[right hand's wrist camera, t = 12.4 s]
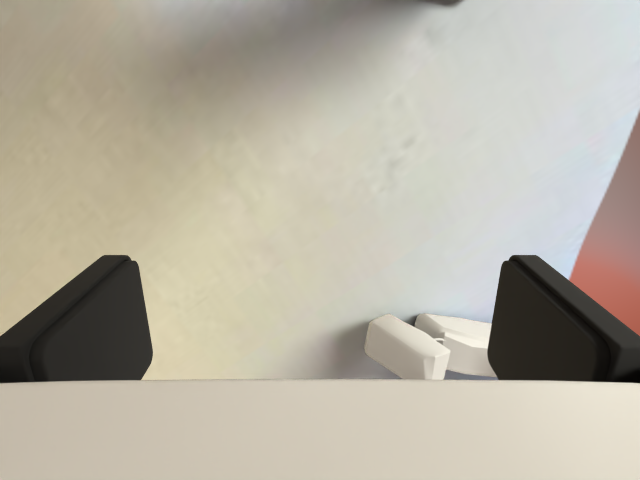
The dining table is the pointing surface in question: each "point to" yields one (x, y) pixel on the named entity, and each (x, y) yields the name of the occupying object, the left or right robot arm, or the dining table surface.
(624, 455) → the right robot arm
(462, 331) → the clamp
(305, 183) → the dining table surface
